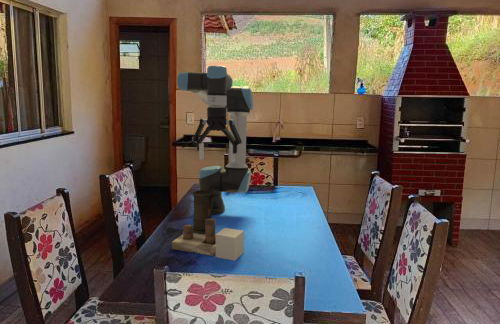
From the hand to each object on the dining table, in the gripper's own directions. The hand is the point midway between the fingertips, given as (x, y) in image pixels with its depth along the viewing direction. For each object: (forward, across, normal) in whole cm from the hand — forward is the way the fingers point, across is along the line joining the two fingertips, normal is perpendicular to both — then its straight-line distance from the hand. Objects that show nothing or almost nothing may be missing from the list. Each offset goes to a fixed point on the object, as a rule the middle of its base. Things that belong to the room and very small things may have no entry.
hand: (216, 160), depth 155 cm
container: (+35, -12, +11) cm, 39 cm away
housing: (+35, +10, -9) cm, 37 cm away
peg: (+35, 0, -6) cm, 35 cm away
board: (+35, -5, -6) cm, 36 cm away
